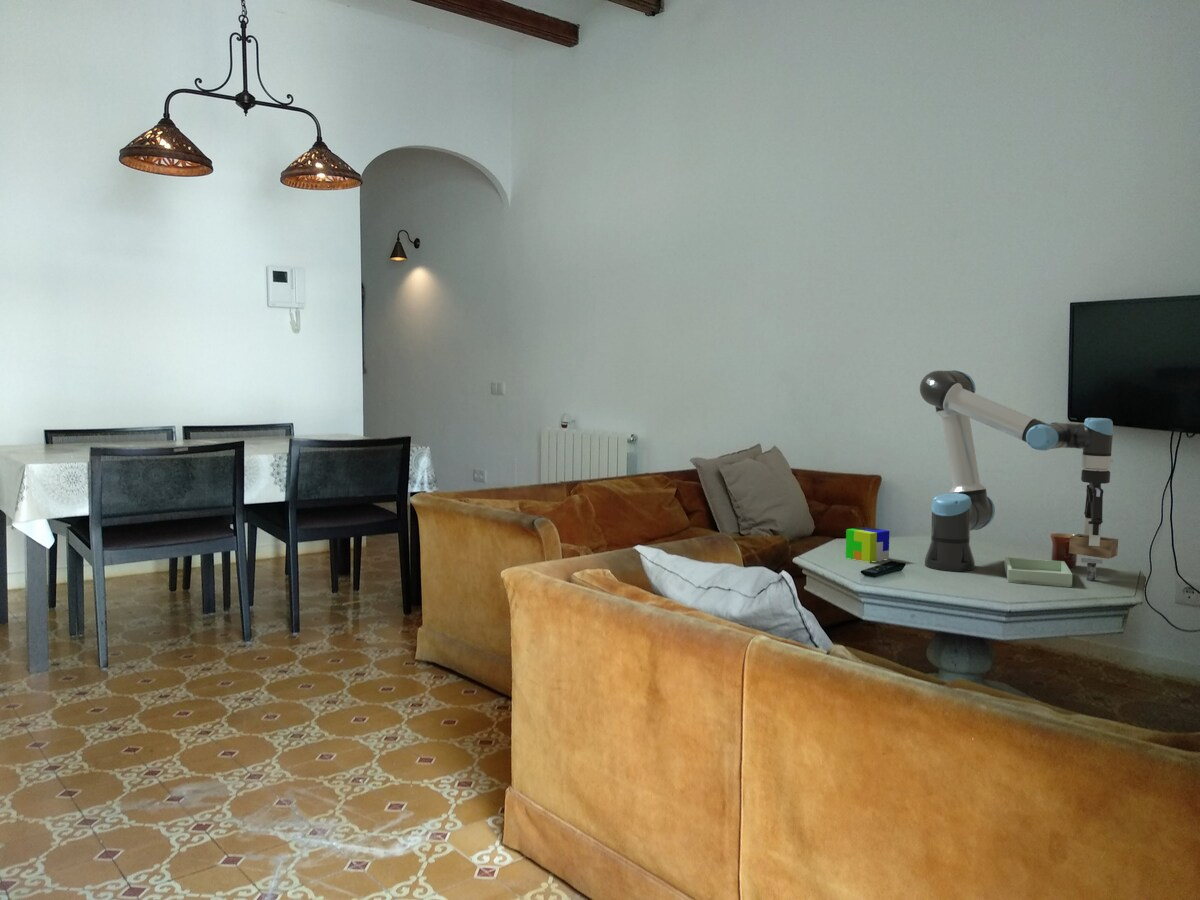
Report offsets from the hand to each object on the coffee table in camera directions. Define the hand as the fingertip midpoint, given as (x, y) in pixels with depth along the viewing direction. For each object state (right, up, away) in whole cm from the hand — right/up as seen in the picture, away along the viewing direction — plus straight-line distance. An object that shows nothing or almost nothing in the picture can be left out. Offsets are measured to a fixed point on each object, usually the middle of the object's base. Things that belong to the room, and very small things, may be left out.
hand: (1091, 542), depth 263 cm
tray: (-14, -11, +4) cm, 19 cm away
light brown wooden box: (0, -3, 0) cm, 3 cm away
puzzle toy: (-58, -9, +33) cm, 67 cm away
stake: (0, -12, +1) cm, 12 cm away
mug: (+2, -10, +19) cm, 22 cm away
